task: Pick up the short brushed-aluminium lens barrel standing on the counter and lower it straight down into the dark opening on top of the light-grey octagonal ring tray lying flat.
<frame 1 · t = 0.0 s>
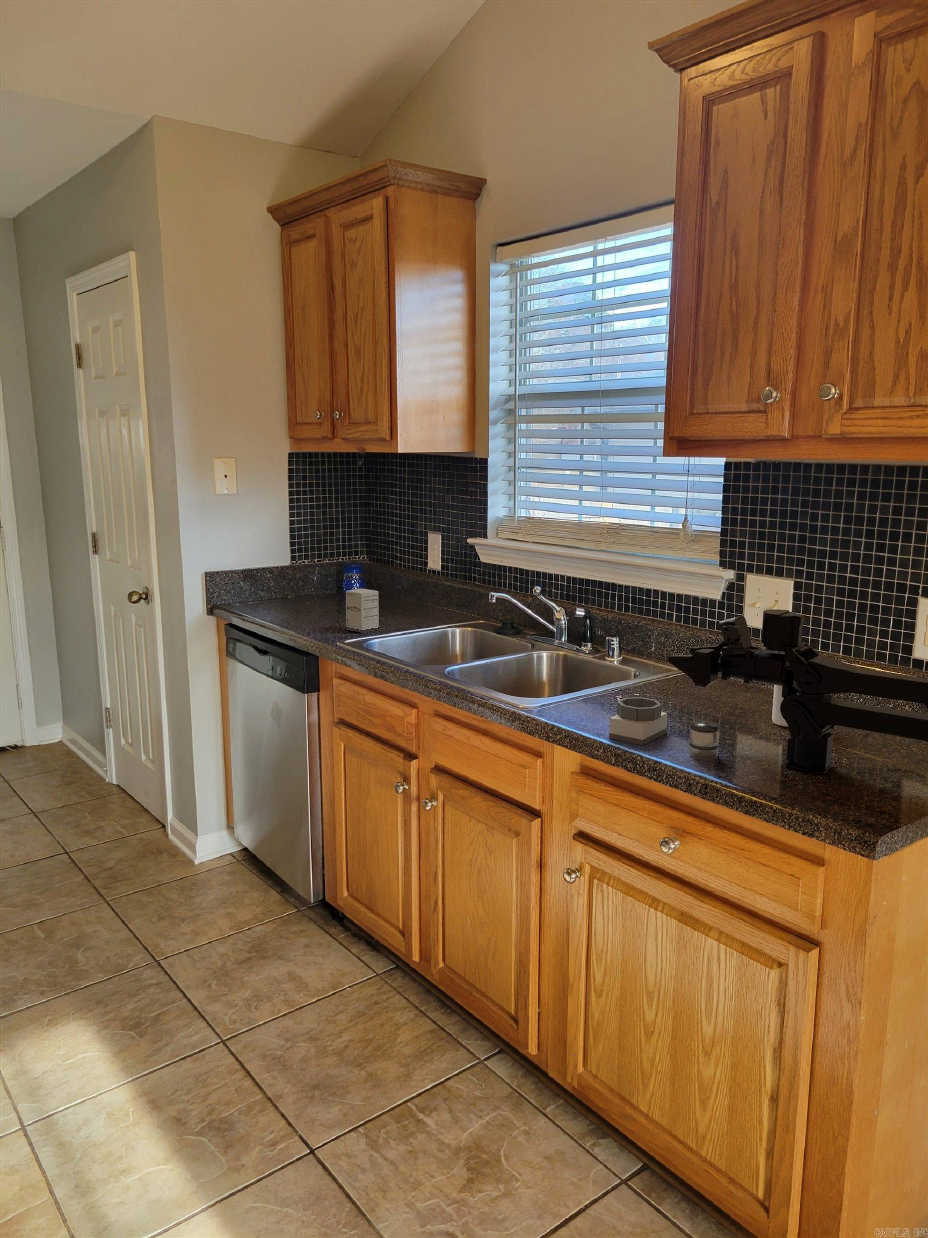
hand: (679, 654, 172), 17 cm above the worktop, tool horizontal, fingers open, 9 cm apart
octagonal ring tray: (638, 735, 177), on the worktop
lens: (703, 756, 165), on the worktop
supplement box: (362, 631, 280), on the worktop
can: (788, 724, 185), on the worktop
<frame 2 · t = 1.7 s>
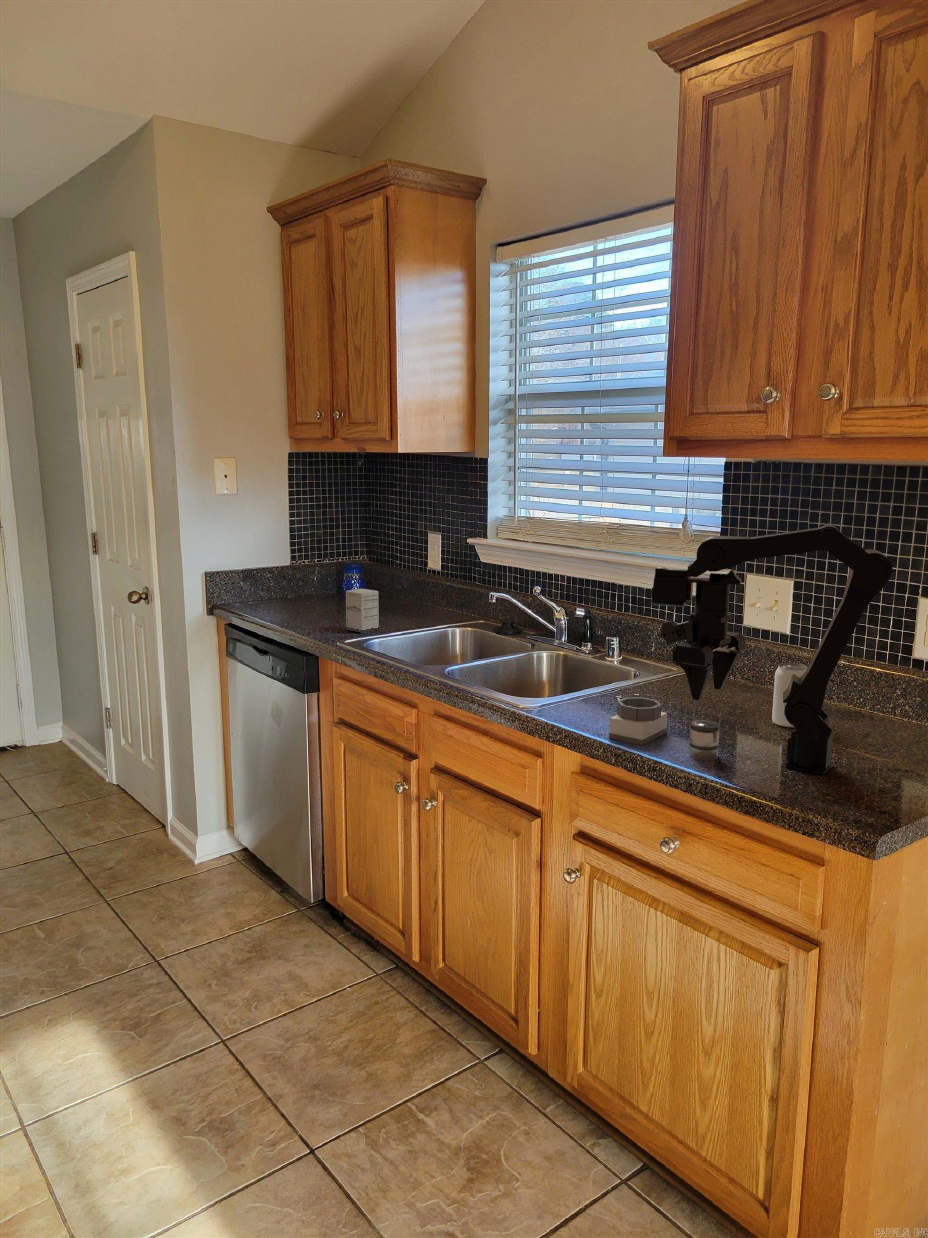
hand: (706, 694, 163), 11 cm above the worktop, tool pointing down, fingers open, 9 cm apart
nothing on the worktop moved.
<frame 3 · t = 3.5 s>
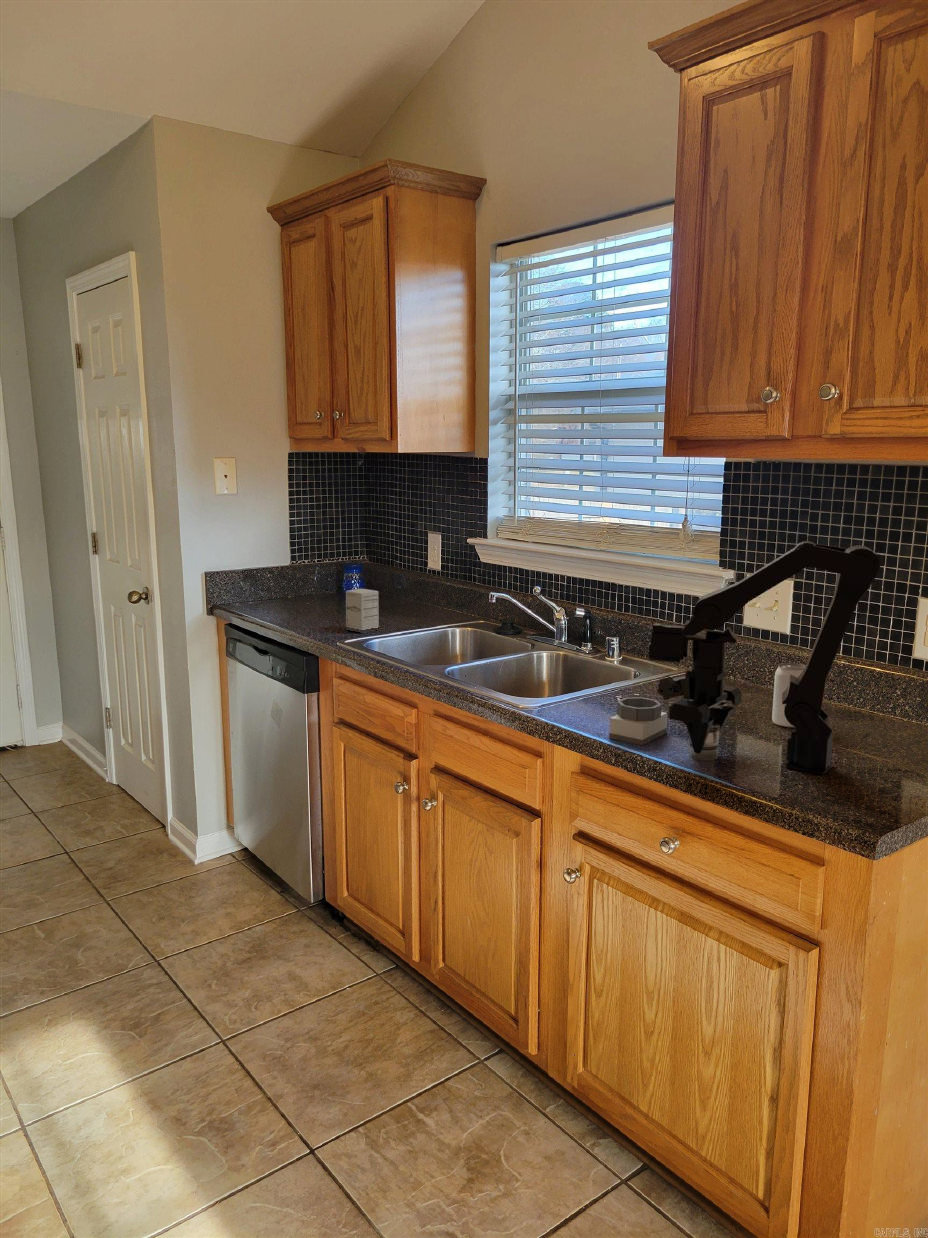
hand: (703, 749, 165), 1 cm above the worktop, tool pointing down, fingers closed on lens, 5 cm apart
lens: (703, 755, 165), on the worktop, touching gripper
everything else where it was.
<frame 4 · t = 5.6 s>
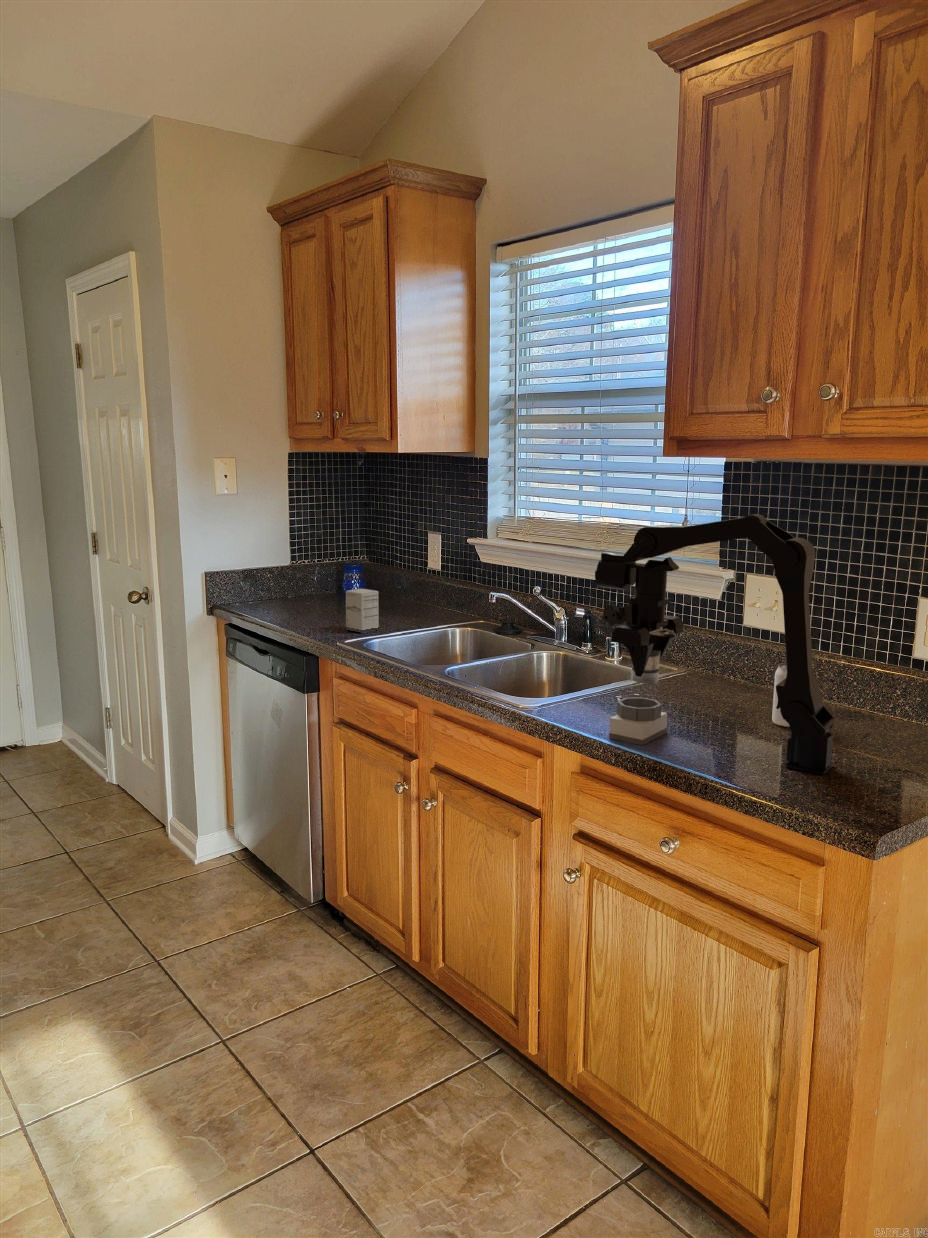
hand: (645, 673, 173), 13 cm above the worktop, tool pointing down, fingers closed on lens, 5 cm apart
lens: (644, 679, 174), point 11 cm above the worktop, touching gripper
everything else where it was.
when the fingers open (7 cm above the worktop, at t = 7.8 s): lens drops 2 cm, resting on octagonal ring tray.
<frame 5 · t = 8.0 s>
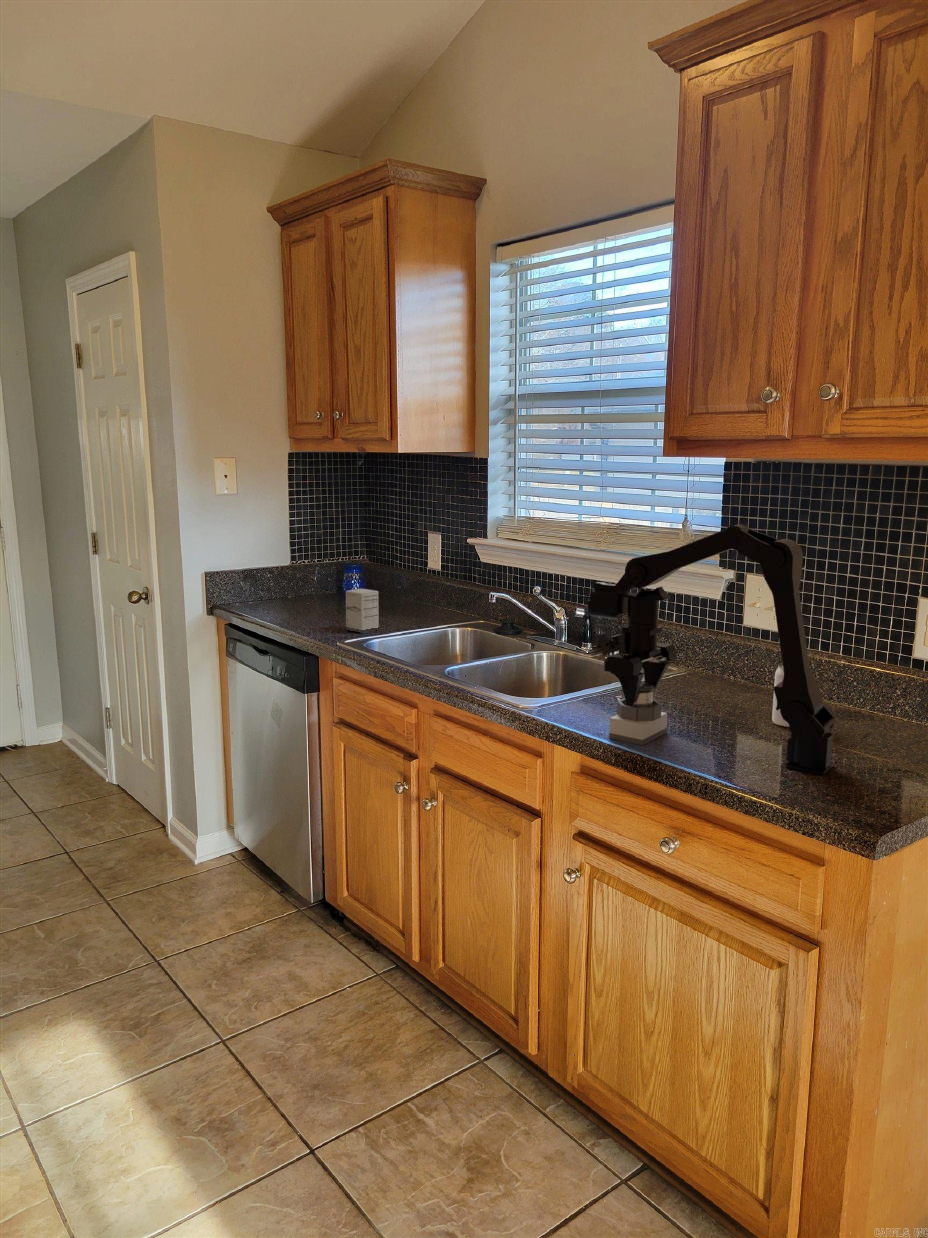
hand: (639, 701, 176), 7 cm above the worktop, tool pointing down, fingers open, 7 cm apart
lens: (638, 715, 176), point 4 cm above the worktop, touching octagonal ring tray
everything else where it was.
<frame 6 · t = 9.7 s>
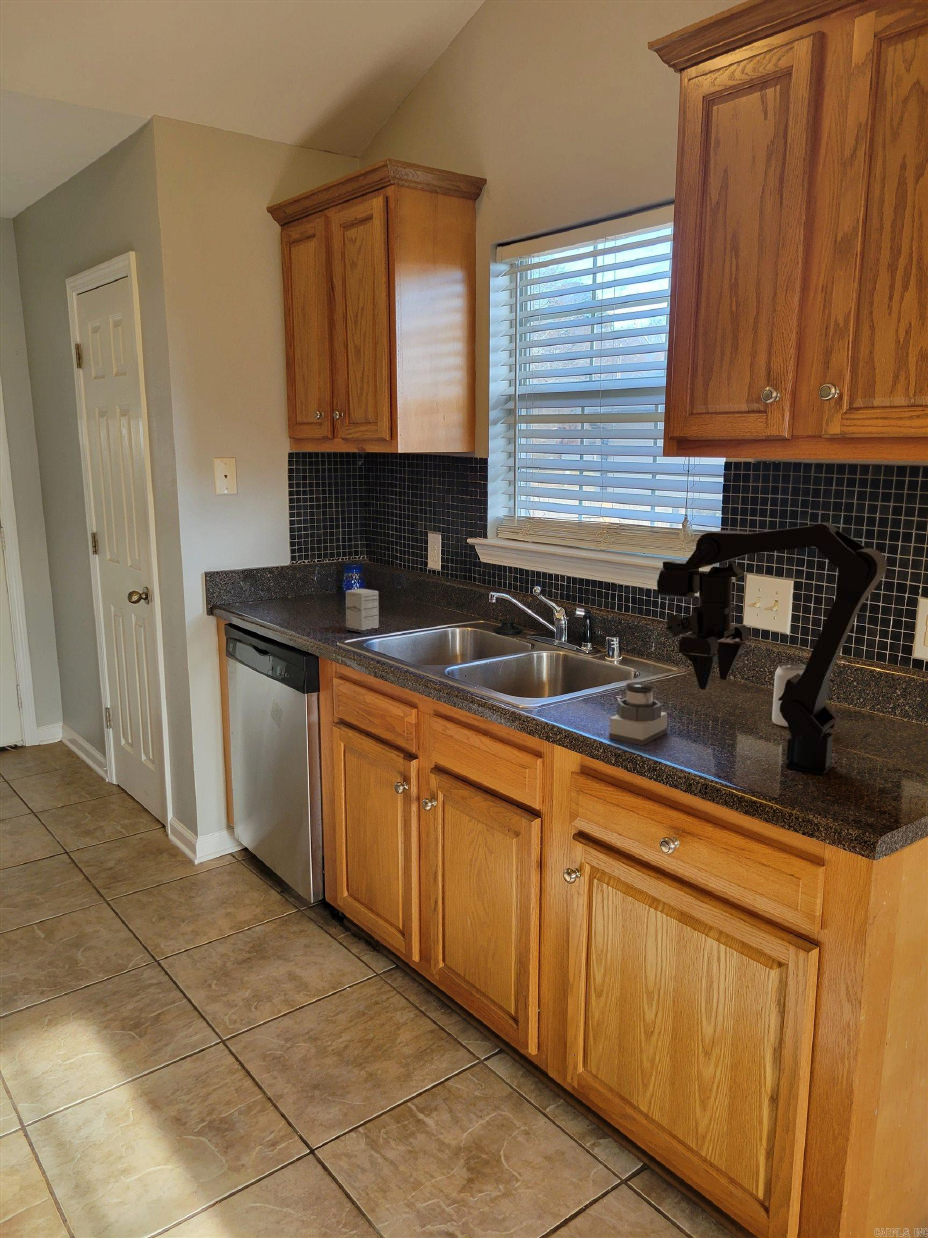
hand: (713, 684, 168), 12 cm above the worktop, tool pointing down, fingers open, 9 cm apart
nothing on the worktop moved.
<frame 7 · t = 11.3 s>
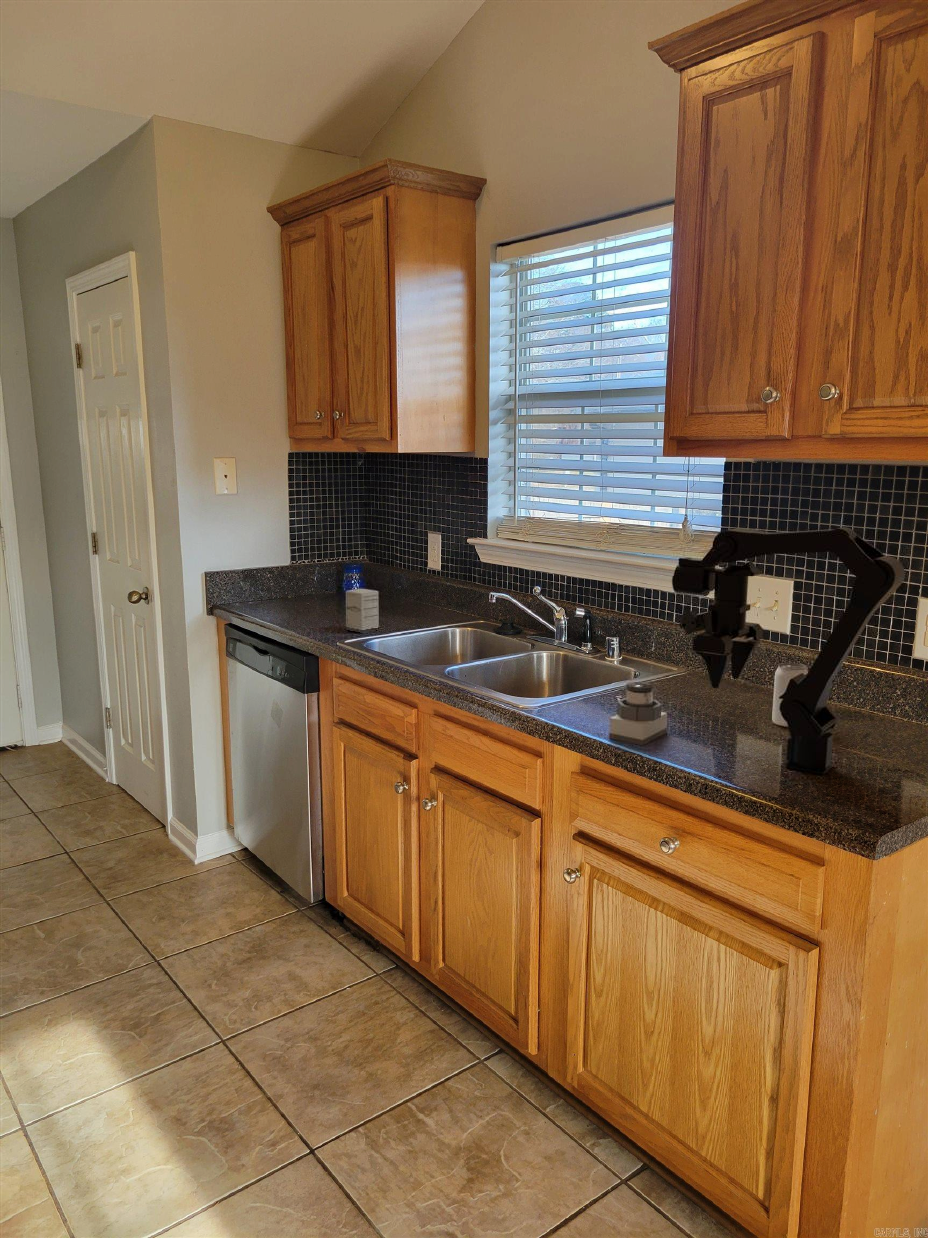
hand: (725, 683, 167), 13 cm above the worktop, tool pointing down, fingers open, 9 cm apart
nothing on the worktop moved.
at the end: lens 0.0 cm off-centre on the octagonal ring tray, point 4.0 cm above the octagonal ring tray's base; lens tilted 0°; the gripper is holding nothing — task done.
